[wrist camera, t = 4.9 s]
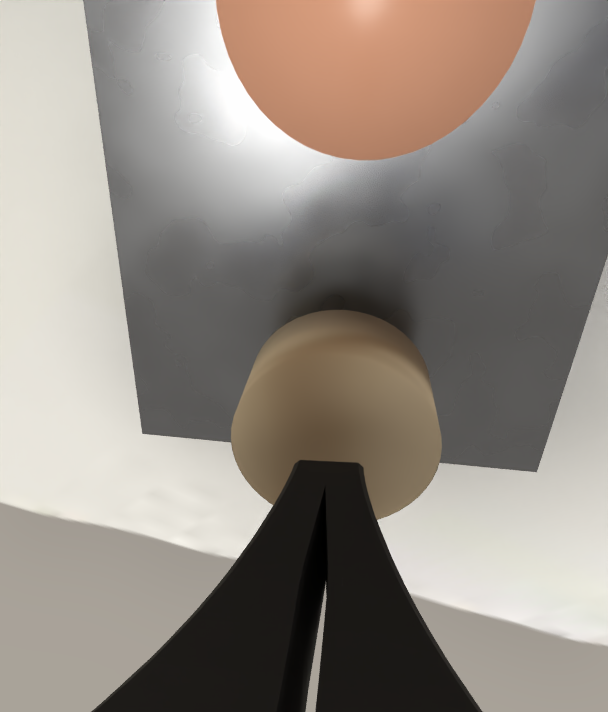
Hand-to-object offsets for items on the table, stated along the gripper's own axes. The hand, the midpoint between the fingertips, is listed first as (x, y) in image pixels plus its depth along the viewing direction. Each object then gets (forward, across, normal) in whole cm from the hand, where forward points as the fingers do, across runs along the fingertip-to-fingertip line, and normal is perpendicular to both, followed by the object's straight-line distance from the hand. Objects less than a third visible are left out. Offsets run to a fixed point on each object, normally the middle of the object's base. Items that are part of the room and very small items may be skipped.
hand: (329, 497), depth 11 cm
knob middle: (+4, -1, -9) cm, 10 cm away
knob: (+4, 0, 0) cm, 4 cm away
